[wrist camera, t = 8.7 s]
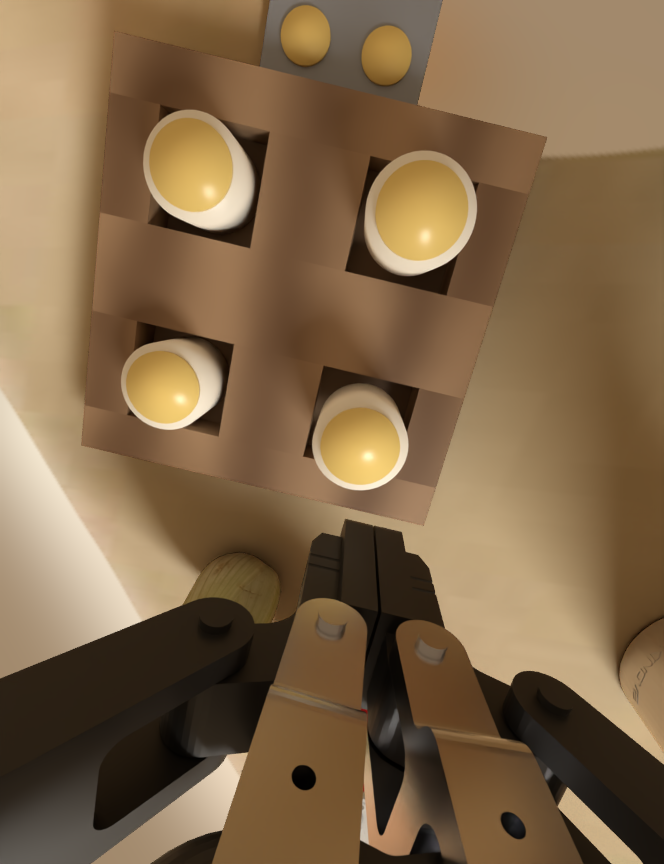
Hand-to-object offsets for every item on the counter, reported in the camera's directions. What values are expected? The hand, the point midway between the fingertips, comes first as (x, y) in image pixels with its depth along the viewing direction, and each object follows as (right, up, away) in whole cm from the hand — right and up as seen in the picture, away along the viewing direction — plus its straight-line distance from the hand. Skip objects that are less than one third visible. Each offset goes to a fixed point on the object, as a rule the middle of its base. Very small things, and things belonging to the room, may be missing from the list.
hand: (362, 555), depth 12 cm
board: (-3, +10, +14) cm, 18 cm away
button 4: (+1, +4, +13) cm, 13 cm away
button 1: (-7, +16, +12) cm, 21 cm away
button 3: (-9, +7, +15) cm, 18 cm away
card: (0, +24, +10) cm, 26 cm away
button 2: (+3, +13, +10) cm, 17 cm away
